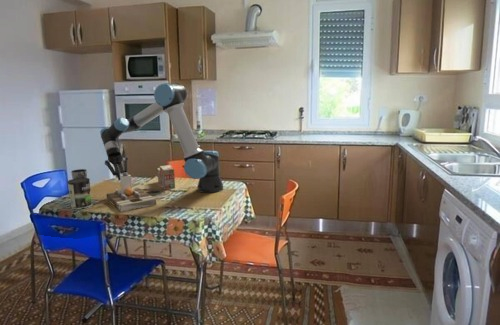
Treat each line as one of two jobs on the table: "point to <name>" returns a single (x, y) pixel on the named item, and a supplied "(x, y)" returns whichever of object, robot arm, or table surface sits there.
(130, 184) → the pale grey bottle
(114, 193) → the wooden tray
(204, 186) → the robot arm
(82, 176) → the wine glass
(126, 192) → the ball
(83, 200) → the coffee can
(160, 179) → the printed cardboard box
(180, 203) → the table surface
